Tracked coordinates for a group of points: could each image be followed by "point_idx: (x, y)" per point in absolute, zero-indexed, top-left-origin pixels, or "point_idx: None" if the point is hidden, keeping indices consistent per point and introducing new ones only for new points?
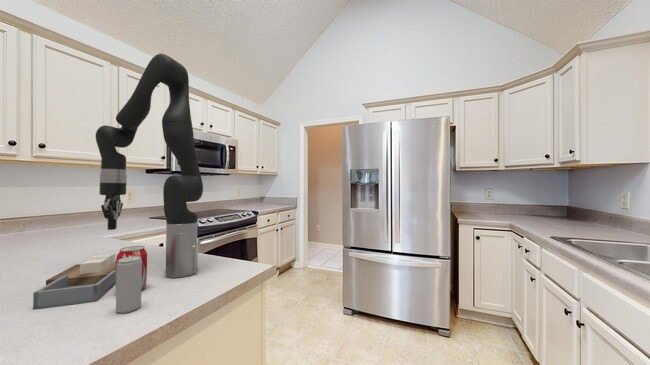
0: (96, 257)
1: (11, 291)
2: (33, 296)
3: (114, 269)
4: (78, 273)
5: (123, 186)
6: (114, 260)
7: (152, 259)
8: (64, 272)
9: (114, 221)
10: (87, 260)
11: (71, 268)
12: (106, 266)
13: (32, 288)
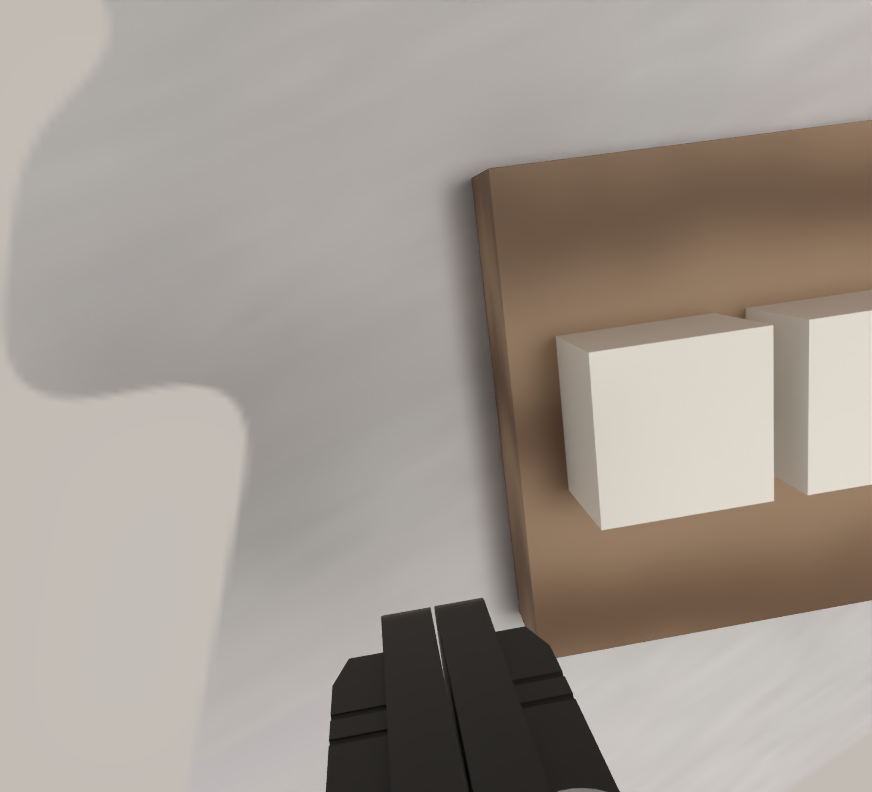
0: (735, 462)
1: (823, 741)
2: None
3: (855, 194)
4: None
5: None
6: (571, 337)
7: (115, 96)
8: (794, 589)
9: (533, 753)
10: (845, 480)
11: (676, 614)
12: (781, 306)
13: (808, 665)
